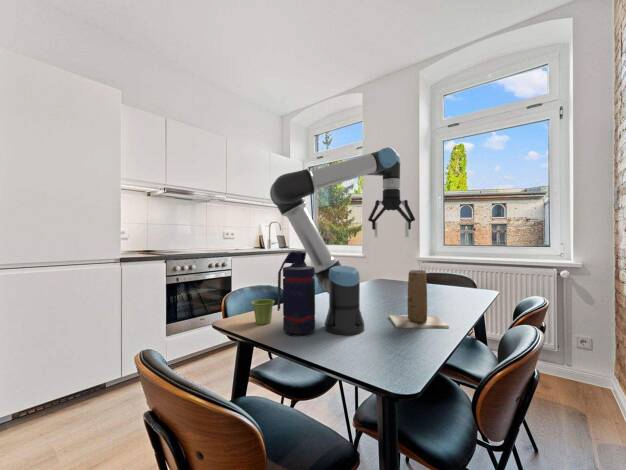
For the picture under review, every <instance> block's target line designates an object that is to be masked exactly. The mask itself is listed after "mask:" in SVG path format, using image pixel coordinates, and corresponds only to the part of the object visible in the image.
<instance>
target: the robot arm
mask: <svg viewBox="0 0 626 470" xmlns="http://www.w3.org/2000/svg"><path fill="white" fill-rule="evenodd" d="M364 176H380V177H381V176H382V199H381V200H379V199H377V200H376V201H375V202H374V207H373V209H372V211H371V213H370V214H369V216H368V218H367V221H368V222H371V223H372V224H371V226H372V227H371V229H372V230H374V238H378V222H377V221H378V219H379V218H380V217H381V216H382V214H383V213H384V212H385V211H397V212H398V213H399V214H400V216H402V218H403V220H405V221H406V222H404V229H405V230H404V233H405V234H404V238H409V230H411V228H412V227H411V226H412V222H414V221H416V218H415V216H414V214H413V212H412V210H411V208H410V205H409V201H408V200H407V199H405V200H401V189H400V188H401V157H400V155H399V153H397V152H396V150H395V149H394V148H392V147H390V146H388V147H387V146H386V147H384V148H381V149H379V150H377V151H375V152H371V153H367V154H364V155H360V156H357V157H353V158H350V159H346V160H344V161H340V162H335V163H332V164H329V165H326V166H322V167H319V168H315V169H312V170H310V169H308V168H306V169H303V170H297V171H291V172H288V173H283V174H281V175H279V176H278V177H277V178H276V179H275V181H274V182H273V184H272V185H271V187H270V190H269V196H270V199H271V201H272V203H273V204H274V205H275V206H276V207H277V208H278V211H279V212H280V214H281V216H283V217H286V218H287V219H288V221H289V223H290V225H291V226H292V228H293V230H294V232H295V234H296V235H297V237H298V239H299V241H300V243H301V244H302V246H303V248H304V250H305V252H306V255H308V257H309V259H310V261H311V262H312V264H313V267H314V268H315V277H316V279H317V283H318V286H319V287H320V289H321V290H323V291H324V292H325V293H327V294H328V295H329V296H328V298H329V300H328V301H329V302H328V312H327V315H326V318H325V320H324V329H325V331H326V332H328V333H331V334H334V335H341V336H342V335H343V336H351V335H357V334H361V333H363V332H364V331H365V321H364V319H363V315H362V311H361V307H360V304H361V303H360V299H361V298H360V297H361V294H360V293H361V291H360V289H361V286H360V285H361V284H360V283H361V282H360V281H361V276H360V271H359V270H358V269H357V268H356V267H354V266H348V265H341V263H340V261H339V259H338V257H334V256H332V254H331V252H330V250H329V248H328V246H327V244H326V243H325V240H324V239H323V237H322V235H321V233H320V231H319V230H318V228H317V226H316V224H315V222H314V220H313V219H312V217H311V215H310V213H309V211H308V209H307V208H306V206H307V200H306V197H309V196H311V195H315V193H316V192H317V191H318V190H321V189H325V188H328V187H332V186H334V185H338V184H342V183H344V182H348V181H350V180H354V179H357V178H361V177H364ZM380 205H382V206H383V207H382V208H381V210H380V211H379V212H378V213H377V214H376V216H375V217H374V215H375V213H376V211H377V210H378V208H379V206H380ZM401 205H402V206H403V207H404V208H405V211H406V213H407V214H406V213H405V211H403V209H402V208H401V207H400V206H401Z"/></svg>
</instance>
